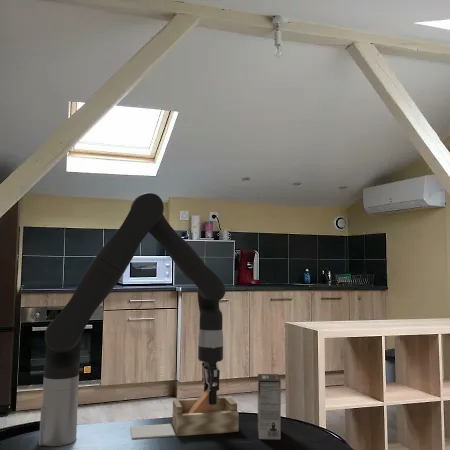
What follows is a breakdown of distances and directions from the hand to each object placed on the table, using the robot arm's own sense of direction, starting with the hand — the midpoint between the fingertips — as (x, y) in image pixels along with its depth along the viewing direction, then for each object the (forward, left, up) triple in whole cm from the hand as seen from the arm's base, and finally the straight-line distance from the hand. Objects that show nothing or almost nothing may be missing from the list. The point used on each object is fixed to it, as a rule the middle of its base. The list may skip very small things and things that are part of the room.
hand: (210, 401), depth 140 cm
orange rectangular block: (-2, 0, -3) cm, 4 cm away
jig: (-2, 0, -8) cm, 8 cm away
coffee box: (+15, -9, -8) cm, 20 cm away
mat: (-17, 0, -8) cm, 19 cm away
